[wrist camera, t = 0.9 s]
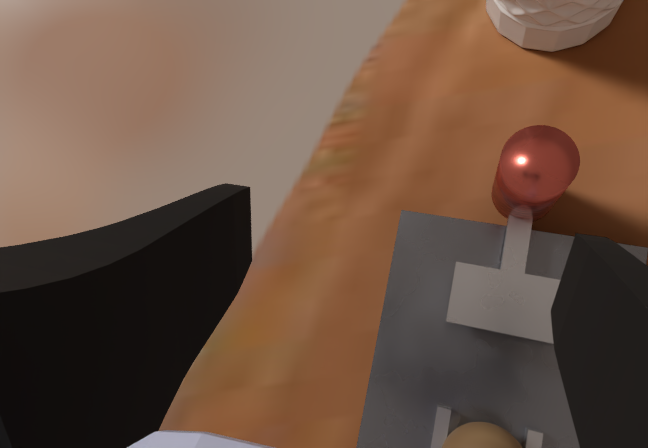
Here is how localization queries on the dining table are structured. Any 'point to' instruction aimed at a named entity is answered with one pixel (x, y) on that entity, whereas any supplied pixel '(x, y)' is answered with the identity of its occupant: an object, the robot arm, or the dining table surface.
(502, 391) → the bench
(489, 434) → the nut
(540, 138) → the ram handle
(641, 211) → the dining table surface
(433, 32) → the dining table surface
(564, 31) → the white cup
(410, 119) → the dining table surface
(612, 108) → the dining table surface
